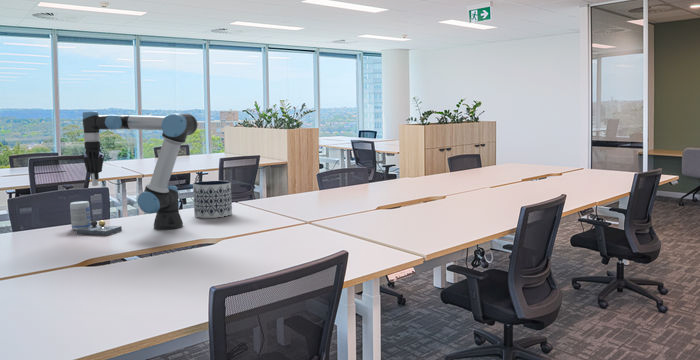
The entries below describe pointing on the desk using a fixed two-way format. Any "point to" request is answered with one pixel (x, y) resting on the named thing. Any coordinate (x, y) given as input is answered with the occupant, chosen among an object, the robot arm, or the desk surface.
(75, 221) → the supplement tub
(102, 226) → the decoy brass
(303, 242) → the desk surface
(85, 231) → the plate
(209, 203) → the planter
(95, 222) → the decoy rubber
